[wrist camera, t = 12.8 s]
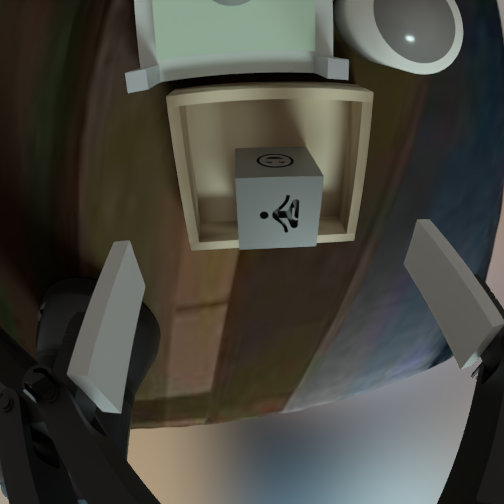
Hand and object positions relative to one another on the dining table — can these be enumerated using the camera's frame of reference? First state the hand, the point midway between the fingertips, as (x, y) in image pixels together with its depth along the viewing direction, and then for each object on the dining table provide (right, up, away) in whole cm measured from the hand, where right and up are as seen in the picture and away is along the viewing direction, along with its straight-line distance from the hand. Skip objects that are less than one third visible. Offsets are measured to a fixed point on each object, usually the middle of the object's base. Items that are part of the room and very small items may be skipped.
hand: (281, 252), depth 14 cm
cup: (+8, +16, +2) cm, 18 cm away
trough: (0, +7, +8) cm, 11 cm away
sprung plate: (-2, +15, -1) cm, 16 cm away
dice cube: (0, +5, +9) cm, 11 cm away
